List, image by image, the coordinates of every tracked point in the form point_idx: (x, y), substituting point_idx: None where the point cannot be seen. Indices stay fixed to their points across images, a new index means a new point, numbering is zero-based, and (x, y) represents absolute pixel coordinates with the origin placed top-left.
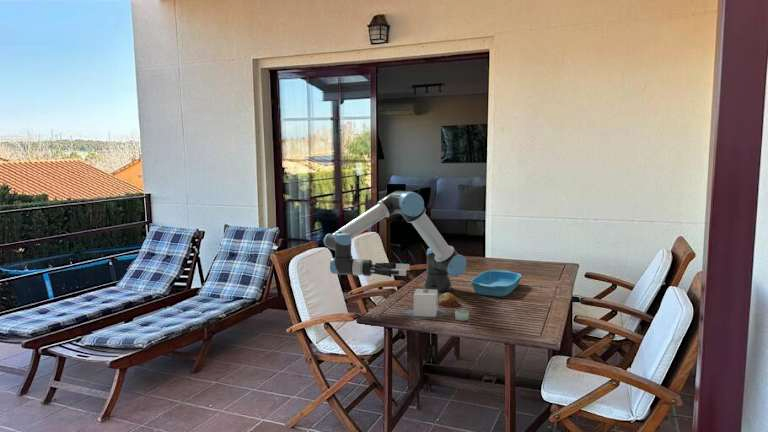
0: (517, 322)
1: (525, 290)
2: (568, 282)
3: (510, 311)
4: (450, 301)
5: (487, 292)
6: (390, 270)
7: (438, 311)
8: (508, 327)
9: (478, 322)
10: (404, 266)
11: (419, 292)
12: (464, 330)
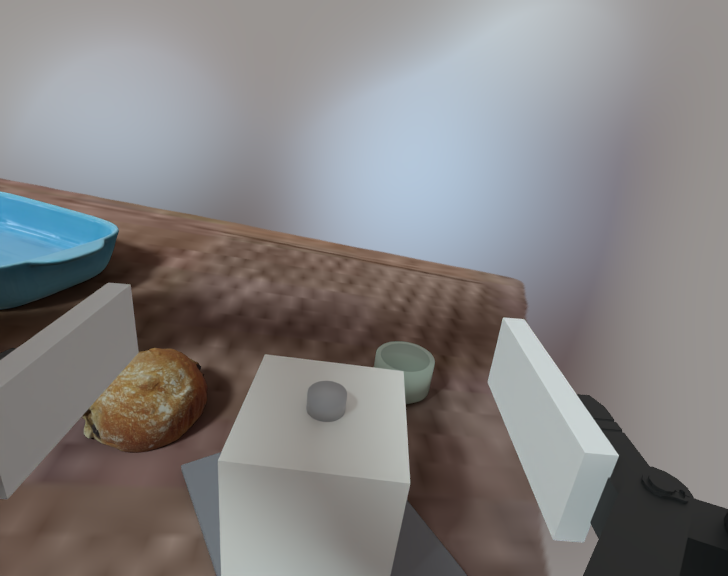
0: (390, 292)
1: None
2: (37, 185)
3: (284, 285)
4: (202, 380)
5: (64, 281)
6: (675, 488)
7: None
8: (441, 311)
9: None
10: (96, 348)
11: (341, 443)
12: None
